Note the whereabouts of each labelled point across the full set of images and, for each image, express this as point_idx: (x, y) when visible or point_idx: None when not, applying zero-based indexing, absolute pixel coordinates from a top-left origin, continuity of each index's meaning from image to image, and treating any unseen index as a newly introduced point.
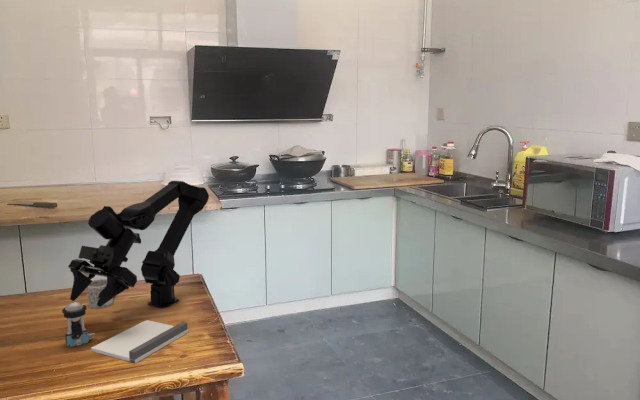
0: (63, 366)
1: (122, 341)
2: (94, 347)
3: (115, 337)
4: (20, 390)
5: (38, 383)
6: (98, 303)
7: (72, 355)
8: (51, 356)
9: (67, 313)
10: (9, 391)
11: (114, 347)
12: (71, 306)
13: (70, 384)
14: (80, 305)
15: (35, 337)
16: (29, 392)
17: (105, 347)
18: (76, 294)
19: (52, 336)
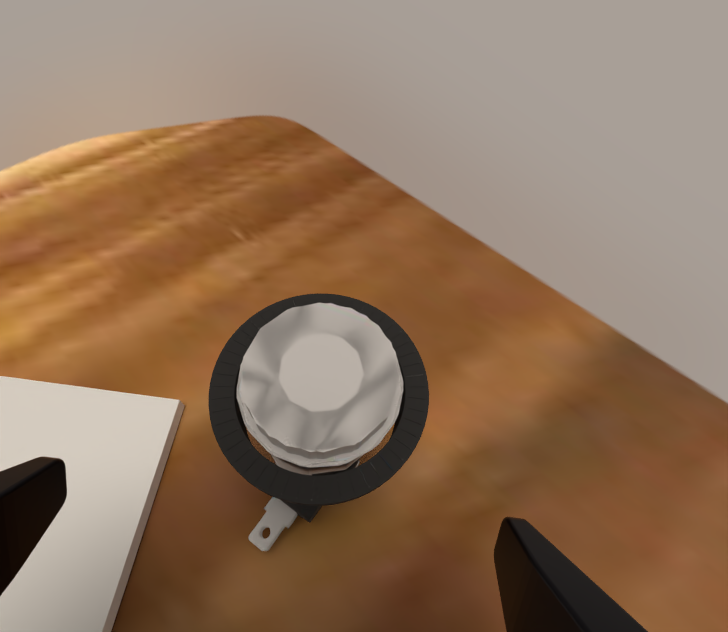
0: (223, 261)
1: None
2: (162, 410)
3: (95, 578)
4: (256, 129)
5: (229, 163)
6: (26, 464)
7: None
8: None
9: (308, 296)
10: (285, 121)
11: (34, 443)
12: (311, 327)
13: (108, 178)
14: (243, 380)
15: (599, 447)
16: (218, 127)
17: (93, 426)
18: (524, 619)
19: (531, 488)
